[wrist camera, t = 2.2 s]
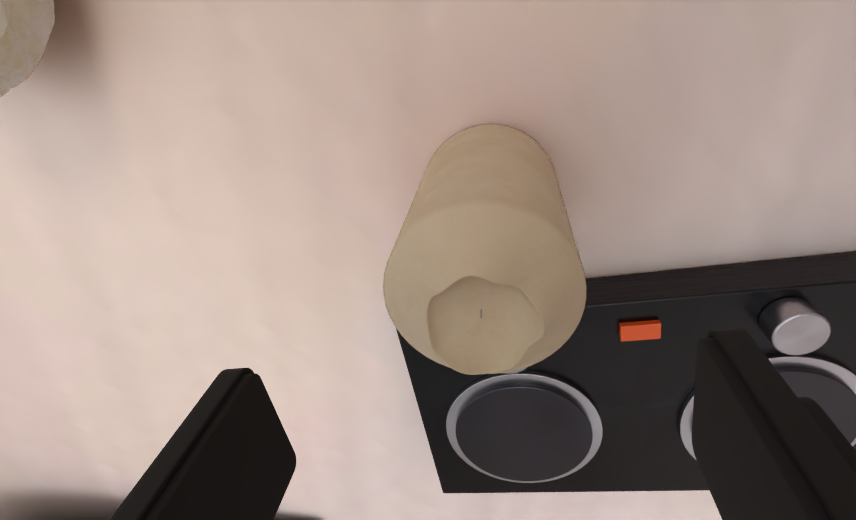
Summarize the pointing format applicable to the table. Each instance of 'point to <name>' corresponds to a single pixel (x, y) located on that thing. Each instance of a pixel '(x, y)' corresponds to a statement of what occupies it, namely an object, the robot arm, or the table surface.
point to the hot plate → (639, 378)
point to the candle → (486, 257)
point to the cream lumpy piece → (22, 38)
